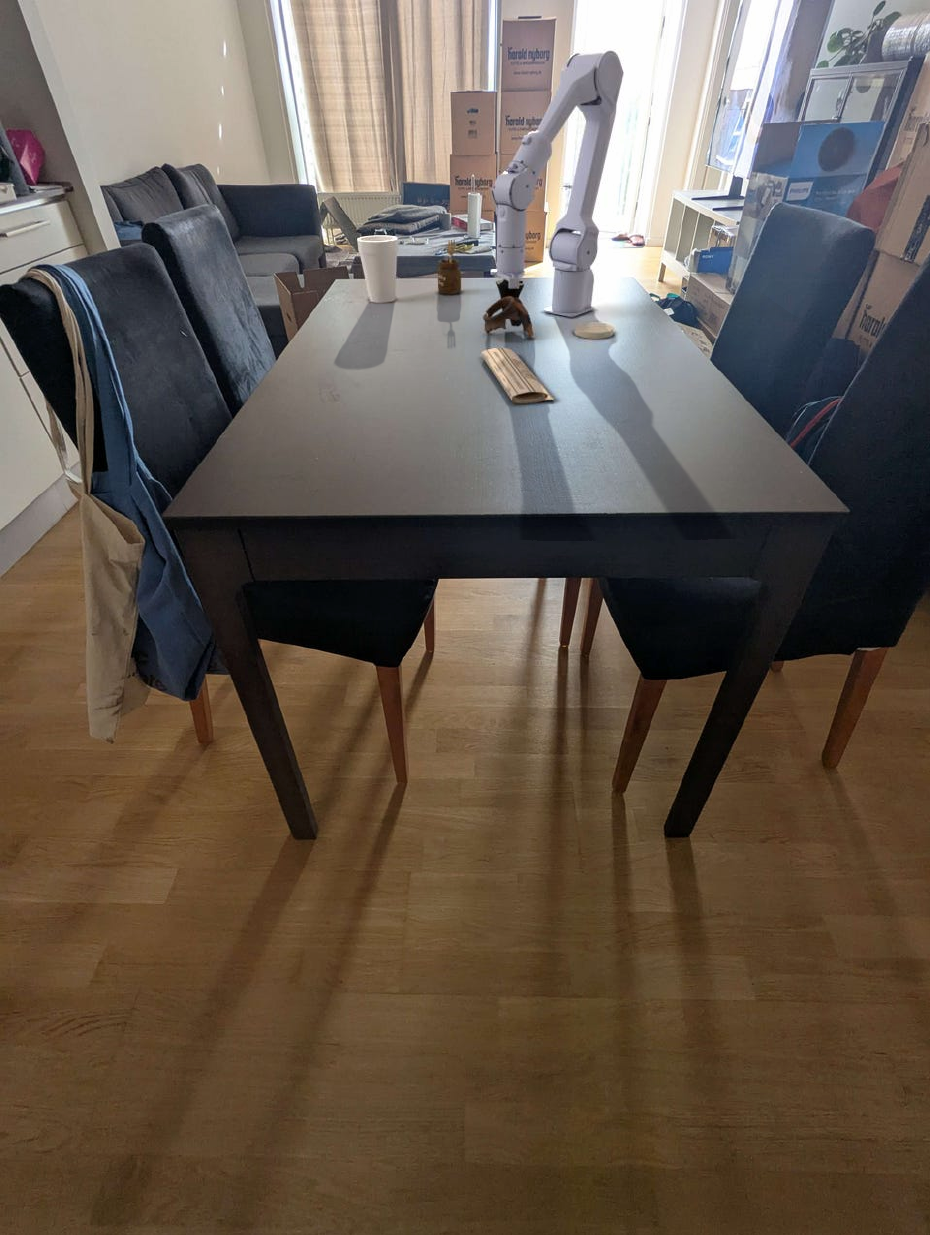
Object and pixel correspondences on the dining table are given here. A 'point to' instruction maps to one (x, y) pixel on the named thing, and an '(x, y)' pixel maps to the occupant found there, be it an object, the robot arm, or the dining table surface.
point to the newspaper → (515, 376)
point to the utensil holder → (449, 274)
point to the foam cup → (379, 266)
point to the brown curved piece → (508, 315)
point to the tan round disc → (593, 330)
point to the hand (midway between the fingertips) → (508, 318)
